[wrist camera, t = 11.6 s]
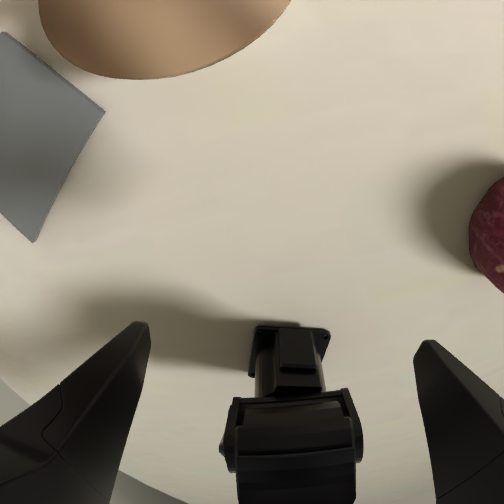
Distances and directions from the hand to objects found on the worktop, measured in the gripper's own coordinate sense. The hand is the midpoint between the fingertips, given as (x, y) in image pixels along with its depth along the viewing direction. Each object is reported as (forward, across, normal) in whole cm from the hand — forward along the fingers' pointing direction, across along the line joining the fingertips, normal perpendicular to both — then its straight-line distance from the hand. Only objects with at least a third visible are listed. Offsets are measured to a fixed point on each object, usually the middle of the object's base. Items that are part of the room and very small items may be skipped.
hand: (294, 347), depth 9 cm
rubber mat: (+13, +21, -4) cm, 25 cm away
